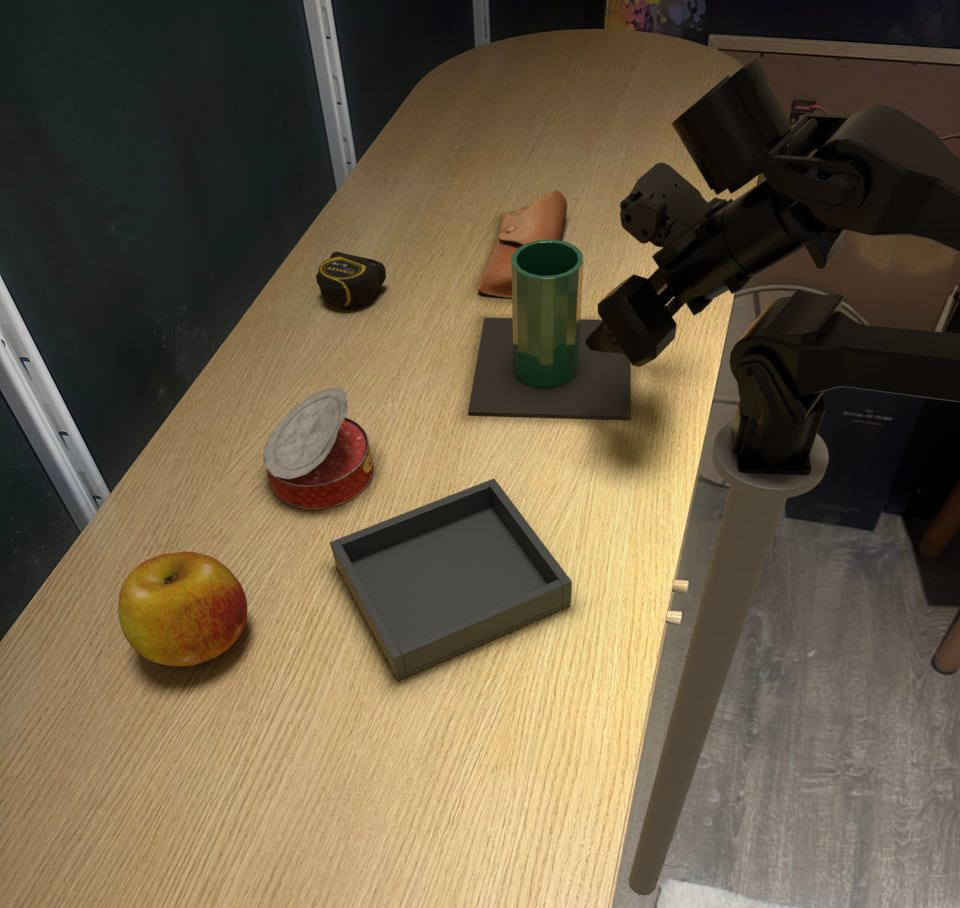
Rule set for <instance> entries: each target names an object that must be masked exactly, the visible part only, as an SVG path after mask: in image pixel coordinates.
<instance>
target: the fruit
mask: <svg viewBox="0 0 960 908" xmlns="http://www.w3.org/2000/svg"><path fill="white" fill-rule="evenodd" d="M117 602H118V604H117V611H118V613H117V615H118V621H119V625H120V629H121V631H122V634H123V636H124V638H125V641H127V643H128V644H129V646H130V647H131V648H132V649H133V650H135V652H137V653H138V654H139V655H140V656H142V657H143V658H144V659H146V660H148V661H150V662H153V663H156V664H159V665H165V666H168V667H189V666H195V665H198V664H201V663H205V662H207V661H210V660H213V659H215V658H217V657H219V656H220V655H221V654H223V653H225V652H226V651H227V650H228V649H229V648H230V647H231V646H233V645H235V643H236V642H237V640H238V639H239V638H240V636H241V634H242V632H243V631H244V629H245V627H246V623H247V619H248V600H247V596H246V592H245V590H244V588H243V586H242V584H241V582H240V581H239V580H238V578H237V576H236V575H235V574H234V573H233V572H232V571H231V570H230V568H229V567H227V565H225V564H224V563H222V562H221V561H220V560H219V559H217V558H214V557H213V556H211V555H208V554H205V553H202V552H198V551H197V552H196V551H177V552H172V553H163V554H159V555H156V556H154V557H151V558H148V559H146V560H144V561H143V562H141V563H140V564H139V565H137V566H136V567H134V569H133V570H132V571H131V572H130V573H129V574H128V575H127V577H126V578H125V579H124V581H123V583H122V585H121V588H120V591H119V595H118V601H117Z"/></svg>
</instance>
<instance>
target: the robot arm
mask: <svg viewBox="0 0 960 908" xmlns="http://www.w3.org/2000/svg"><path fill="white" fill-rule="evenodd" d="M670 124H671V127H672V128H673V129H674V132H675V134H677V136H678V138H679V139H680V141H681V143H682V145H683V147H684V148H685V150H686V152H687V153H688V154H689V157H690V158H691V159H692V161H693V163H694V164H695V166H696V168H697V169H698V171H699V173H700V174H701V176H702V177H703V180H704V181H705V182H706V183H705V184H706V185H707V186H708V188H709V190H710V191H714V193H715V195H716V196H718V195H720V194H722V193H724V192H725V191H727V190H728V192H729V194H733V193H736V192H737V191H738V190H740V189H741V188H743V187H744V186H746V185H747V184H748V183H750V182H751V181H753V180H754V179H755V178H756V177H758V176H759V175H761V174H763V176H764V178H765V179H763V180H762V181H760V182H758V184H756V185H754V186H753V187H751V188H750V189H749V190H747V191H746V192H744V193H743V194H742V195H739V196H738V197H737V198H735V199H734V200H733V198H729V199H728V200H727V199H726V198H718V197H713V198H712V199H711V200H709V201H707V200H706V198H704V197H703V194H702V193H701V191H700V190H699V189H698V188H697V187H695V186H694V185H693V184H692V183H691V182H690V181H688V180H687V179H686V178H685V177H684V176H683V175H682V174H681V173H679V172H678V171H677V170H676V169H675V168H673V167H672V166H671V165H669V163H666V162H657V163H656V164H654V165H653V166H652V167H650V168H649V170H647V171H646V172H645V173H643V174H642V175H641V176H640V177H639V178H638V179H637V180H636V182H635V184H634V186H633V187H632V189H631V191H630V193H629V194H628V195H627V196H626V197H624V198H623V199H622V200H621V201H620V203H619V208H620V211H619V217H620V225H621V228H622V229H623V230H625V231H626V232H627V233H628V234H629V235H631V236H632V238H634V239H635V240H636V241H637V242H638V243H640V244H648V243H651V244H652V245H653V246H655V247H658V248H660V249H659V250H657V251H656V252H655V253H654V254H652V255H651V257H652V259H653V261H654V263H655V264H656V265H657V267H658V268H657V269H656V270H655V271H654V272H653V273H652V274H651V275H650V276H649V277H648V278H647V277H644V276H640V275H638V274H634V273H633V274H632V275H630V276H629V277H627V278H625V279H624V280H623V281H622V282H621V283H619V284H618V285H617V286H616V287H614V288H613V289H612V290H611V291H610V292H608V293H607V294H606V295H605V296H604V297H603V298H602V299H601V300H600V301H599V302H598V303H597V314H598V316H599V318H600V320H603V321H602V323H601V324H600V325H599V326H598V327H597V328H596V329H595V330H594V331H593V332H592V333H591V334H590V335H589V336H588V338H587V339H586V340H585V343H586V344H587V346H588V347H589V349H590V350H592V351H600V352H610V353H619V354H625V355H626V356H627V358H628V359H629V361H630V362H631V366H634V367H637V368H641V367H643V366H645V365H647V364H649V363H650V362H653V361H655V360H656V359H657V358H658V357H659V356H660V355H661V354H662V353H663V351H665V349H666V348H668V346H669V345H670V344H671V343H672V342H673V341H675V338H676V333H677V327H678V325H677V324H678V323H677V322H676V320H675V319H674V316H675V315H676V314H677V313H678V312H679V310H680V309H682V308H683V307H684V306H685V305H686V307H687V308H688V309H689V311H690V313H691V314H692V316H697V315H698V314H700V313H701V312H704V310H705V309H706V308H708V306H709V305H710V304H711V302H713V300H714V299H716V298H718V297H720V296H722V295H723V294H725V293H726V292H728V291H729V292H730V294H731V295H733V294H735V293H737V292H738V291H740V290H742V289H743V288H744V287H745V286H746V285H747V284H748V283H749V281H750V280H751V279H753V277H754V276H756V275H758V274H760V273H761V272H763V271H765V270H766V269H769V268H770V267H772V266H774V265H776V264H777V263H779V262H780V261H782V260H784V259H786V258H788V257H789V256H791V255H793V254H794V253H796V252H798V251H800V250H802V249H803V248H805V250H806V252H807V253H808V255H809V257H810V259H811V260H812V262H813V264H814V266H815V267H816V268H817V269H819V270H823V269H825V268H826V266H827V265H828V264H829V263H830V262H831V260H832V259H833V258H834V257H835V256H836V254H838V252H839V251H840V249H841V248H842V247H843V244H844V238H845V233H846V231H849V232H852V233H853V232H854V233H859V234H863V235H868V236H872V237H880V236H881V237H883V236H886V237H887V236H912V237H917V238H920V239H925V240H928V241H930V242H933V243H936V244H938V245H940V246H942V247H945V248H947V249H950V250H952V251H955V252H956V253H960V158H959V157H958V156H956V154H954V153H953V151H952V150H950V148H949V147H948V146H947V145H946V144H945V142H944V141H943V140H942V139H941V138H940V137H939V136H938V134H937V133H936V132H934V131H933V130H932V129H930V128H929V127H927V126H925V125H923V124H922V123H920V122H919V121H917V120H916V119H914V118H912V117H911V116H910V115H908V114H906V113H905V112H903V111H901V110H899V109H898V108H896V107H894V106H889V105H885V104H873V105H868V106H867V107H865V108H863V109H860V110H859V111H856V112H854V113H852V114H851V115H846V114H831V113H830V114H827V113H811V112H809V113H803V115H802V116H801V117H799V119H798V120H797V121H796V122H795V123H793V124H792V125H791V123H790V122H789V119H788V117H787V116H786V114H785V112H784V111H783V109H782V107H781V105H780V103H779V101H778V100H777V97H776V96H775V94H774V92H773V90H772V89H771V86H770V84H769V82H768V77H767V75H766V72H765V69H764V68H763V66H762V65H761V62H760V61H759V59H758V58H757V57H752V58H751V59H750V60H749V61H748V62H746V63H745V64H744V65H743V66H742V67H740V68H739V69H738V70H737V71H735V72H734V73H733V74H732V75H731V76H730V74H728V75H726V76H725V77H724V78H723V79H721V80H720V81H719V82H718V83H717V84H715V86H713V87H712V88H711V89H709V91H707V92H706V93H705V94H704V95H703V96H702V97H700V98H699V99H698V100H697V101H696V102H694V103H693V104H692V105H691V106H690V107H689V108H688V109H687V108H686V110H685V111H683V113H681V114H680V115H679V116H678V117H676V119H674V120H673V121H672V122H671V123H670ZM811 155H812V156H811ZM843 302H844V295H842V294H838V293H828V294H827V293H826V294H813V293H809V292H807V291H803V290H802V289H799V288H797V289H795V291H794V292H793V293H792V294H791V296H782V297H779V298H776V299H775V300H773V301H772V302H771V303H770V304H768V306H766V308H764V309H763V310H762V312H760V314H759V315H758V316H757V318H756V319H755V320H754V321H753V322H752V323H751V325H750V326H749V327H748V328H747V329H746V331H745V332H744V333H743V334H742V335H741V337H740V338H739V339H738V340H737V342H736V343H735V344H734V345H733V348H732V349H731V351H730V355H729V367H730V372H731V374H732V376H733V377H734V379H735V381H736V384H737V389H738V396H739V402H738V403H737V407H736V411H735V415H734V419H733V420H734V423H733V427H732V431H731V444H732V452H733V453H734V454H736V460H737V469H738V471H739V472H741V473H756V474H784V475H809V474H810V473H811V469H812V468H811V462H810V456H809V455H810V452H811V450H812V447H813V444H814V441H815V438H816V435H817V434H818V432H819V429H820V426H821V424H822V420H823V417H824V415H825V412H826V409H827V408H826V403H825V399H824V393H825V392H826V391H830V390H833V389H838V388H850V389H857V390H864V391H872V392H880V393H888V394H894V395H902V396H908V397H917V398H924V399H932V400H940V401H946V402H953V403H954V402H955V403H960V333H958V332H957V333H956V332H947V331H946V332H944V331H936V330H935V331H934V330H925V329H924V330H923V329H914V328H913V329H912V328H901V327H890V326H880V325H870V324H863V323H859V322H857V321H855V320H854V319H853V318H851V317H850V316H848V315H846V314H845V313H843V312H842V311H841V309H842V306H843ZM742 467H744V468H742ZM804 469H805V470H804Z"/></svg>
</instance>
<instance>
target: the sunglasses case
mask: <svg viewBox="0 0 960 908" xmlns="http://www.w3.org/2000/svg"><path fill="white" fill-rule="evenodd" d="M567 213H568V202H567V199H566V197H565V195H564V194H563V193H562V192H561V191H559V190H553V191H551V192H550V193H548V194H546V195H545V196H543V197H541V198H540V199H538V200H537V201H535V202H532V203H530V204H527V205H525V206H522V207H520V208H517V209H515V210H512V211H510V212H507V213H504V214H503V215H502V216H501V219H500V223H499V228H498V231H497V234H496V237H495V240H494V243H493V246H492V248H491V251H490V255H489V257H488V260H487V261H486V265H485V267H484V269H483V272H482V274H481V276H480V279H479V282H478V286H477V292H479V293H481V294H482V295H485V296H491V297H496V298H499V299H508V300H512V269H511V257H512V255H513V253H514V252H515V251H516V249H518V248H519V247H521V246H523V245H524V244H526V243H529V242H533V241H537V240H551V239H553V240H559V241H561V239H562V234H563V230H564V227H565V223H566V219H567Z"/></svg>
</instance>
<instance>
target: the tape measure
mask: <svg viewBox="0 0 960 908" xmlns="http://www.w3.org/2000/svg"><path fill="white" fill-rule="evenodd" d="M386 271H387V270H386V266H385V265H384V263H382V262H380V261H379V260H376V259H373V258H369V257H368V258H367V257H362V256H359V255H354V254H350V253H349V254H348V253H345V252H342V251H341V252H340V251H333V252H332V253H331V254H330V256H329V258H327V259H325V260H324V261H323V262H322V263H320V265H319V267H318V271H317V273H316V275H315V279H316V284H317V285H318V287H319V290H320V294H321V296H322V298H323V299H324V300H325V301H327V302H328V303H330V304H331V305H336V306H340V307H341V306H342V307H354V306H359V305H363V304H365V303H367V302H369V301H370V300H372V299H373V298H374V297H375V296H376V294H377V293H378V290H379V288H380V287H381V286H382V285H383V284H384V283H385V282H386V279H387V272H386Z"/></svg>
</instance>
